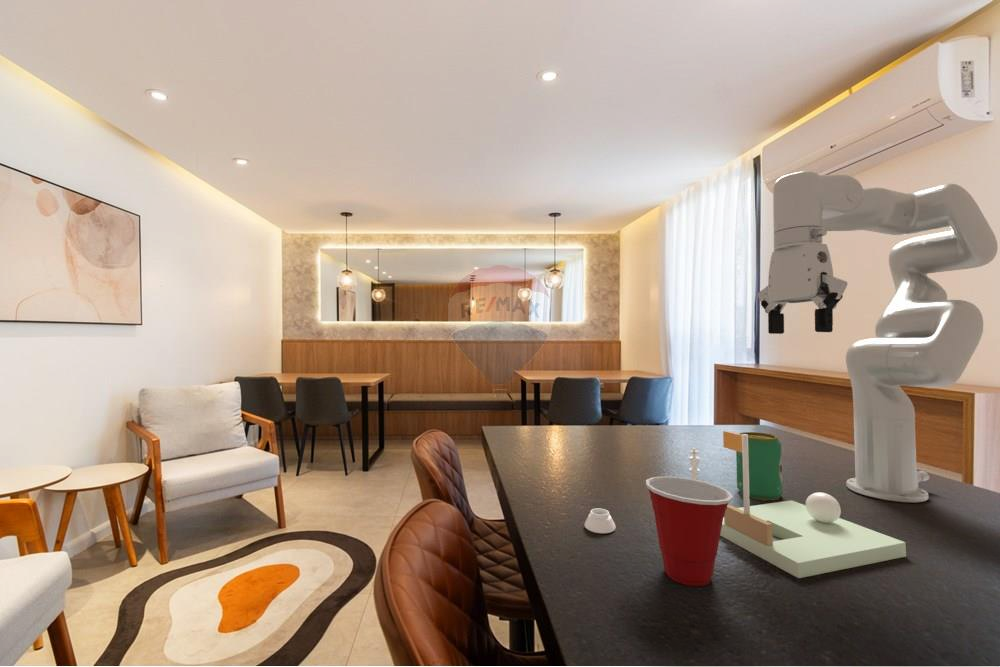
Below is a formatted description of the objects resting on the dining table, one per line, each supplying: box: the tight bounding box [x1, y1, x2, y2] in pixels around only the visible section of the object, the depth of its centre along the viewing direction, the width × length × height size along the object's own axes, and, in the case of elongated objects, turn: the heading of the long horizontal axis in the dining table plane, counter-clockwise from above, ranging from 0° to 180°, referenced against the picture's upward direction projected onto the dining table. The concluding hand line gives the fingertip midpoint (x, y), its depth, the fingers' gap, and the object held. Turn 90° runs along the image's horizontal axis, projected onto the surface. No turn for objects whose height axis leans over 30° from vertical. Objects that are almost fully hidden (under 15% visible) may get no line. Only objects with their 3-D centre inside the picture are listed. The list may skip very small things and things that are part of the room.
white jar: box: [584, 507, 616, 535], centre depth 74 cm, size 5×3×5 cm
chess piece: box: [688, 447, 701, 481], centre depth 88 cm, size 5×5×10 cm
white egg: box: [805, 491, 842, 523], centre depth 71 cm, size 5×5×5 cm
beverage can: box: [735, 431, 783, 501], centre depth 90 cm, size 8×8×12 cm
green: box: [720, 430, 907, 579], centre depth 70 cm, size 20×18×17 cm
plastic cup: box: [645, 476, 734, 587], centre depth 59 cm, size 11×11×12 cm
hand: (798, 332), depth 82 cm, fingers open, 9 cm apart
